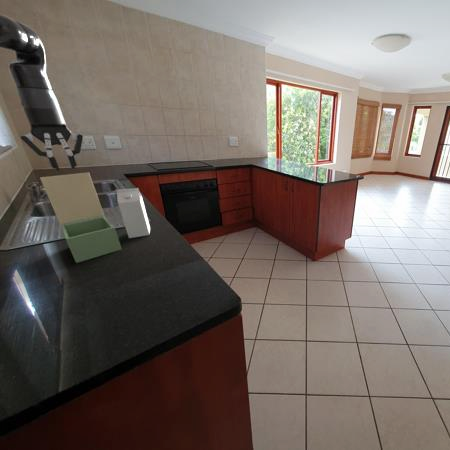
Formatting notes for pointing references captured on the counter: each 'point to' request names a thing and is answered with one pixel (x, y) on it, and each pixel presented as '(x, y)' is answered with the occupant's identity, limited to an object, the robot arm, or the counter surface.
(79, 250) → the bin
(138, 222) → the milk carton
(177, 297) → the counter surface
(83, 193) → the bin lid
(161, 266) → the counter surface
